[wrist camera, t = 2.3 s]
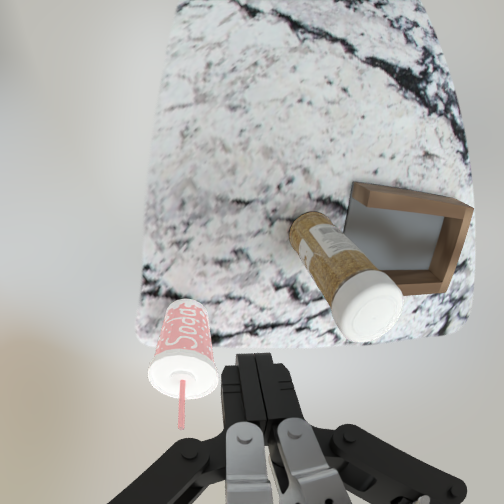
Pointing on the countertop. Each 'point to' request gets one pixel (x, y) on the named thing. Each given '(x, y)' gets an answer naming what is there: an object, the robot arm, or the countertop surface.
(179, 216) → the countertop surface
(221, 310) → the countertop surface
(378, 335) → the sprinkles bottle
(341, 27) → the countertop surface
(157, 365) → the beverage cup
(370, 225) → the u rest
